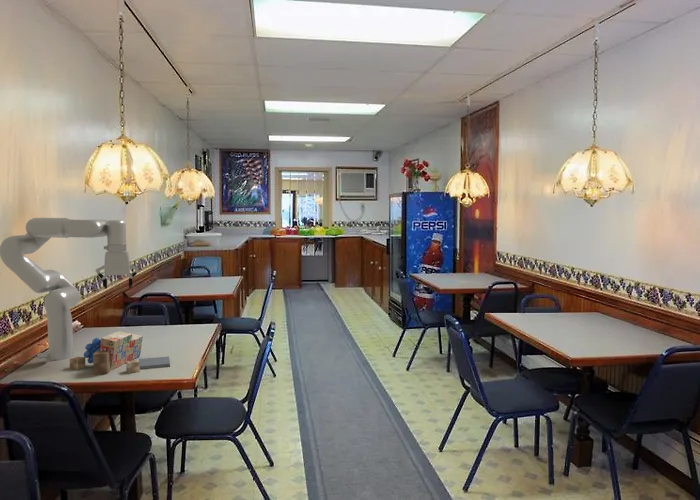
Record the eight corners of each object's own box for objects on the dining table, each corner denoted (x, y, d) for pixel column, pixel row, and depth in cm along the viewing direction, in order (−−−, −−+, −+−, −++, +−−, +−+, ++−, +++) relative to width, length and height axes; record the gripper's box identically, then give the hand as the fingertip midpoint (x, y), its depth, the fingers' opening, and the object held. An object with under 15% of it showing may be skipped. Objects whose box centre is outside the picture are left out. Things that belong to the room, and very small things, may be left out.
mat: (138, 369, 218) (138, 366, 218) (139, 361, 229) (139, 358, 229) (170, 366, 222) (169, 363, 222) (169, 359, 233) (169, 356, 233)
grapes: (113, 362, 230) (118, 335, 228) (112, 367, 223) (116, 339, 222) (83, 359, 226) (88, 332, 225) (81, 365, 219) (85, 336, 218)
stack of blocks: (127, 353, 238) (131, 326, 237) (140, 356, 237) (144, 329, 236) (96, 366, 217) (101, 337, 216) (110, 370, 216) (115, 340, 215)
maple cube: (129, 373, 212) (128, 363, 212) (126, 371, 216) (126, 361, 215) (139, 371, 215) (139, 361, 214) (136, 369, 218) (136, 359, 218)
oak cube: (69, 368, 219) (69, 358, 219) (77, 366, 223) (77, 356, 223) (78, 369, 218) (77, 359, 218) (85, 366, 222) (85, 357, 221)
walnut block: (93, 374, 211) (92, 354, 210) (97, 370, 216) (96, 351, 215) (107, 373, 212) (106, 353, 211) (110, 370, 217) (109, 350, 216)
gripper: (94, 249, 228) (95, 290, 229) (138, 248, 234) (139, 288, 235) (95, 248, 235) (96, 287, 236) (138, 247, 241) (139, 286, 242)
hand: (118, 287), depth 235 cm, fingers open, 9 cm apart
